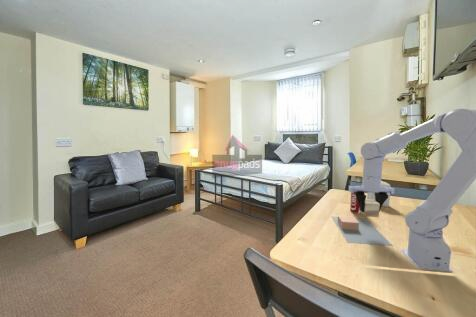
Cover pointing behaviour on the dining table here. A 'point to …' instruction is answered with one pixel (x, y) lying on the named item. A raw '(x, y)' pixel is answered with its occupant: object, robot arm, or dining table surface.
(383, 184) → the photo printer
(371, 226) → the blue-grey rectangular mat
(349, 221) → the base block
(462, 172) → the robot arm
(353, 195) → the soda can
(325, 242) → the dining table surface
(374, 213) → the maple block
